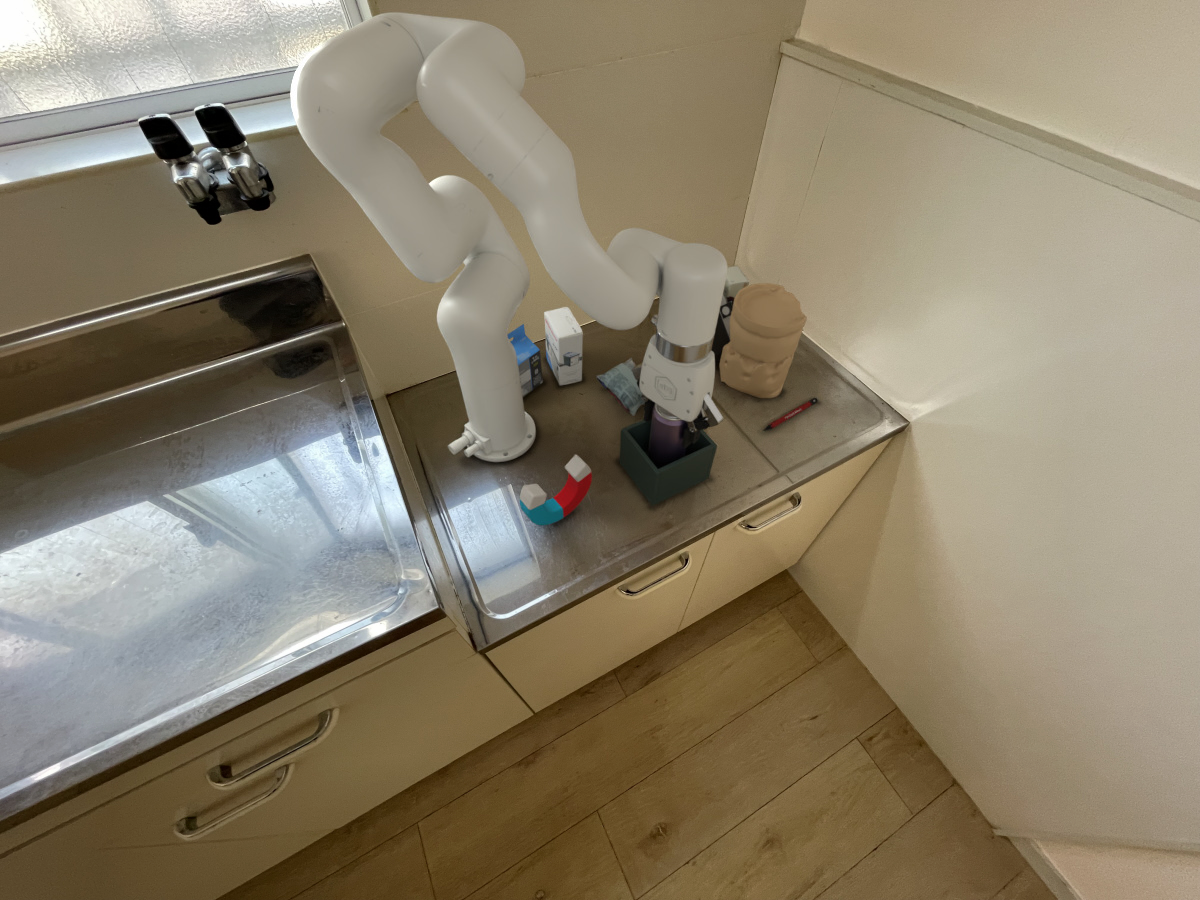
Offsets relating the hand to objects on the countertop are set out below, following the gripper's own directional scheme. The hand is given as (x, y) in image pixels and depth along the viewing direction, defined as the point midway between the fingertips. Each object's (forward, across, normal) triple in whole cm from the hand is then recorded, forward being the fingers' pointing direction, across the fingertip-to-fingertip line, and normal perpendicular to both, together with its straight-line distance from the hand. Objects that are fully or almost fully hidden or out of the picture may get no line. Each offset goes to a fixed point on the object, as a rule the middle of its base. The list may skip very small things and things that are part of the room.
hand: (670, 428), depth 88 cm
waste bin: (+11, 0, 0) cm, 11 cm away
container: (+11, -2, +28) cm, 30 cm away
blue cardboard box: (+11, -32, -4) cm, 34 cm away
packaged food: (+11, -16, +10) cm, 22 cm away
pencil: (+11, +9, +26) cm, 29 cm away
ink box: (+11, -30, +6) cm, 32 cm away
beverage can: (+10, 0, 0) cm, 10 cm away
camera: (+6, -17, +26) cm, 32 cm away
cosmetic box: (+11, -16, +39) cm, 43 cm away
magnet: (+11, -7, -18) cm, 22 cm away
